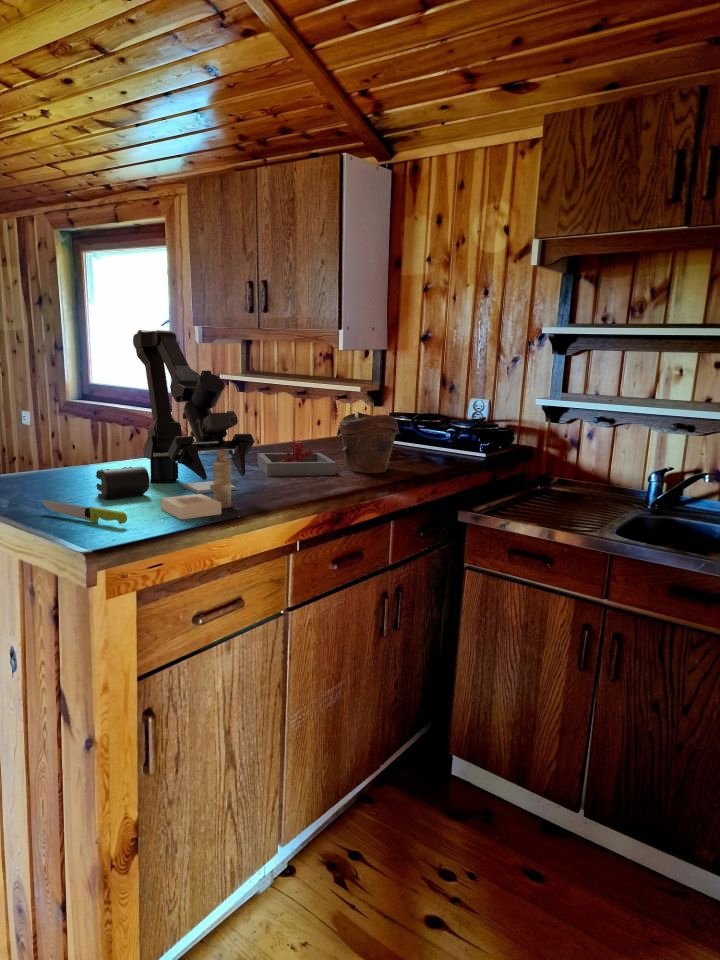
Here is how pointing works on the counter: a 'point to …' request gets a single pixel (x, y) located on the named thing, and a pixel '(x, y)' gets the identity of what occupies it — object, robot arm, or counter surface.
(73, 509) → the kitchen knife
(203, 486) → the lid panel
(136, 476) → the end cap
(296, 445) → the diorama
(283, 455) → the gray square tray
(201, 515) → the white square socket base
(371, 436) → the brown tapered pot
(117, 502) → the counter surface
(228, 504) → the birch pin
